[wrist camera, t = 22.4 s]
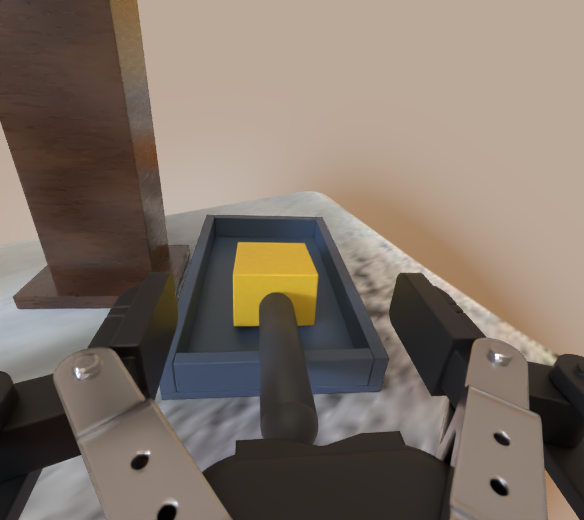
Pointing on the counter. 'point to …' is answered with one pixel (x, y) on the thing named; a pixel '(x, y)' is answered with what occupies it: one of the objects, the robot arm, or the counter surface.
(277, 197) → the counter surface
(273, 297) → the sponge brush
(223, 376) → the tray
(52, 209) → the wooden pedestal stand
